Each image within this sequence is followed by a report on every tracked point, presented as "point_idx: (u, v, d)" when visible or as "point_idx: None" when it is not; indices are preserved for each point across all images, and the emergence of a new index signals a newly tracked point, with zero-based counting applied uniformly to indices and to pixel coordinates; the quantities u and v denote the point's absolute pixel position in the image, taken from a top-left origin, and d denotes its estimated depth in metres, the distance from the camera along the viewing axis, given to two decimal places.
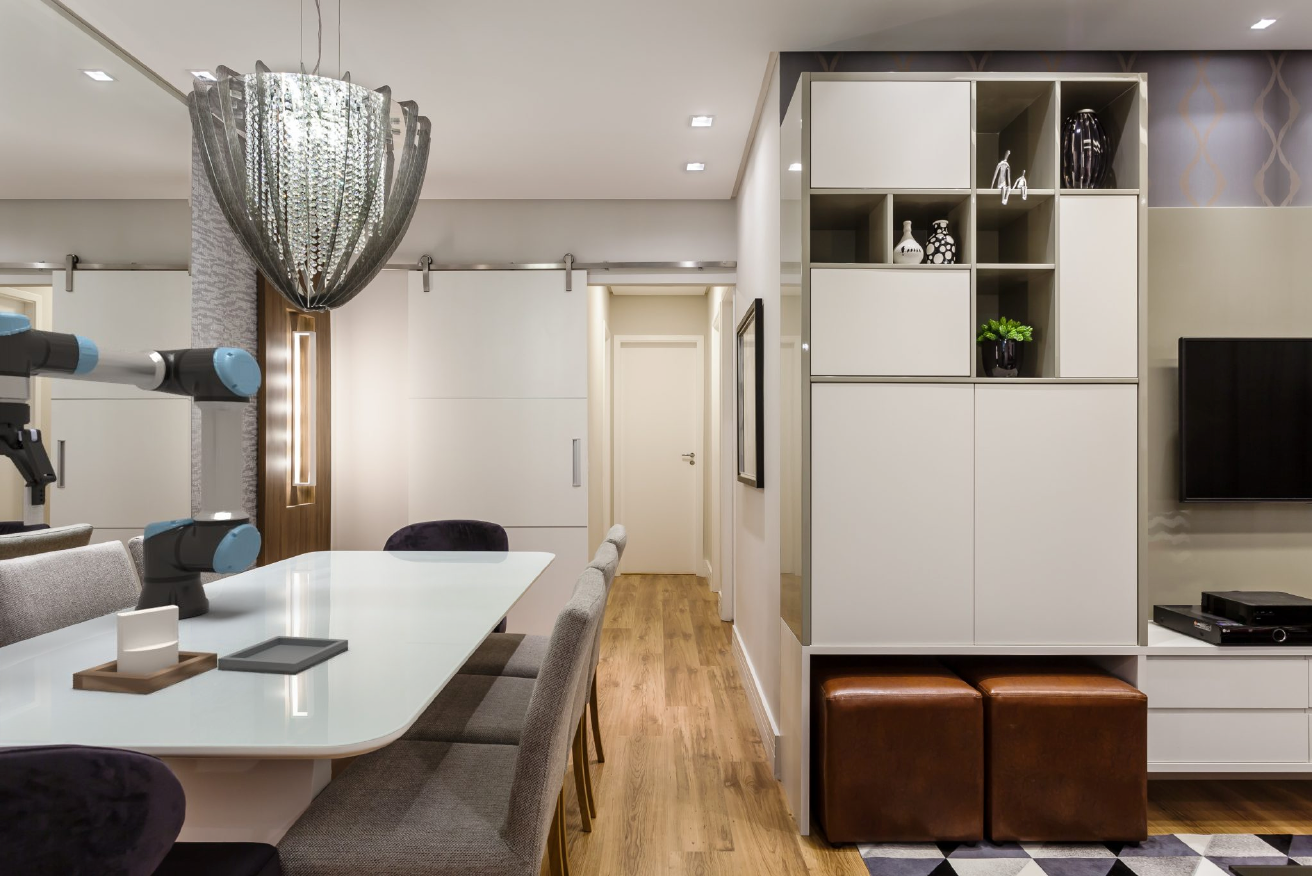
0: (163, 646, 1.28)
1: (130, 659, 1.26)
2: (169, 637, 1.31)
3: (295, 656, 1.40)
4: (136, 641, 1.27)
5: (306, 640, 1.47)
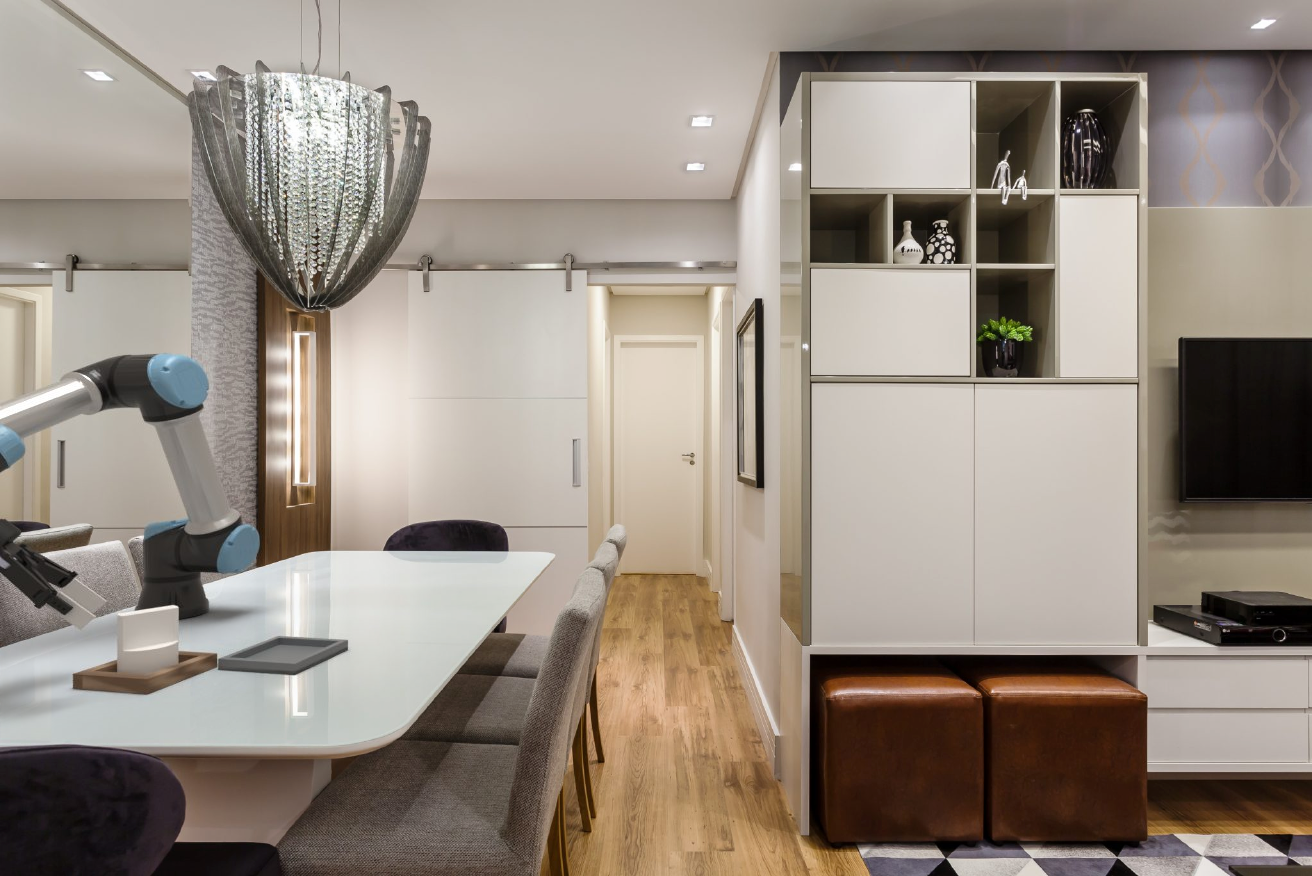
0: (163, 646, 1.28)
1: (130, 659, 1.26)
2: (169, 637, 1.31)
3: (295, 656, 1.40)
4: (136, 641, 1.27)
5: (306, 640, 1.47)
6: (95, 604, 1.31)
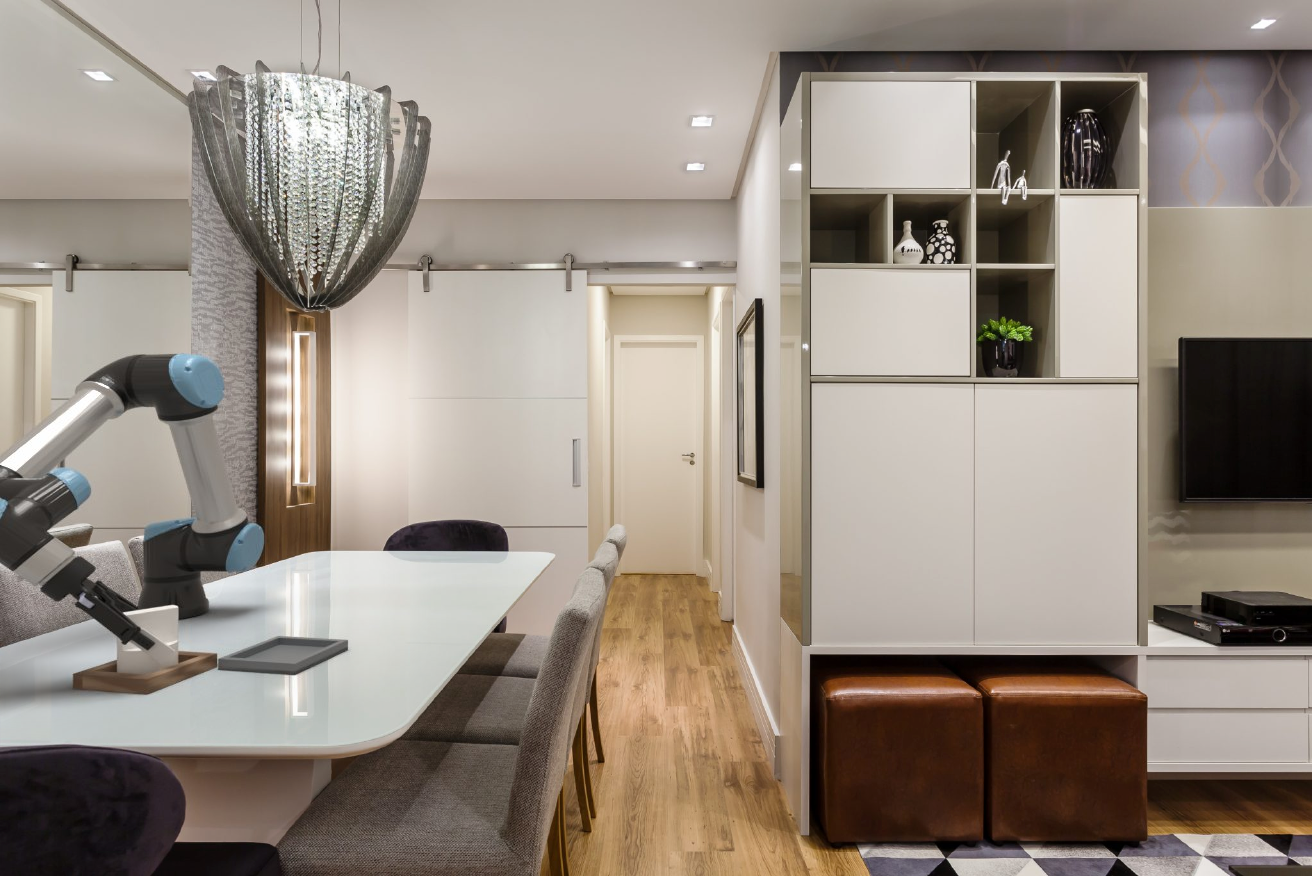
0: None
1: (129, 659, 1.26)
2: (168, 636, 1.31)
3: (295, 656, 1.40)
4: None
5: (306, 640, 1.47)
6: None
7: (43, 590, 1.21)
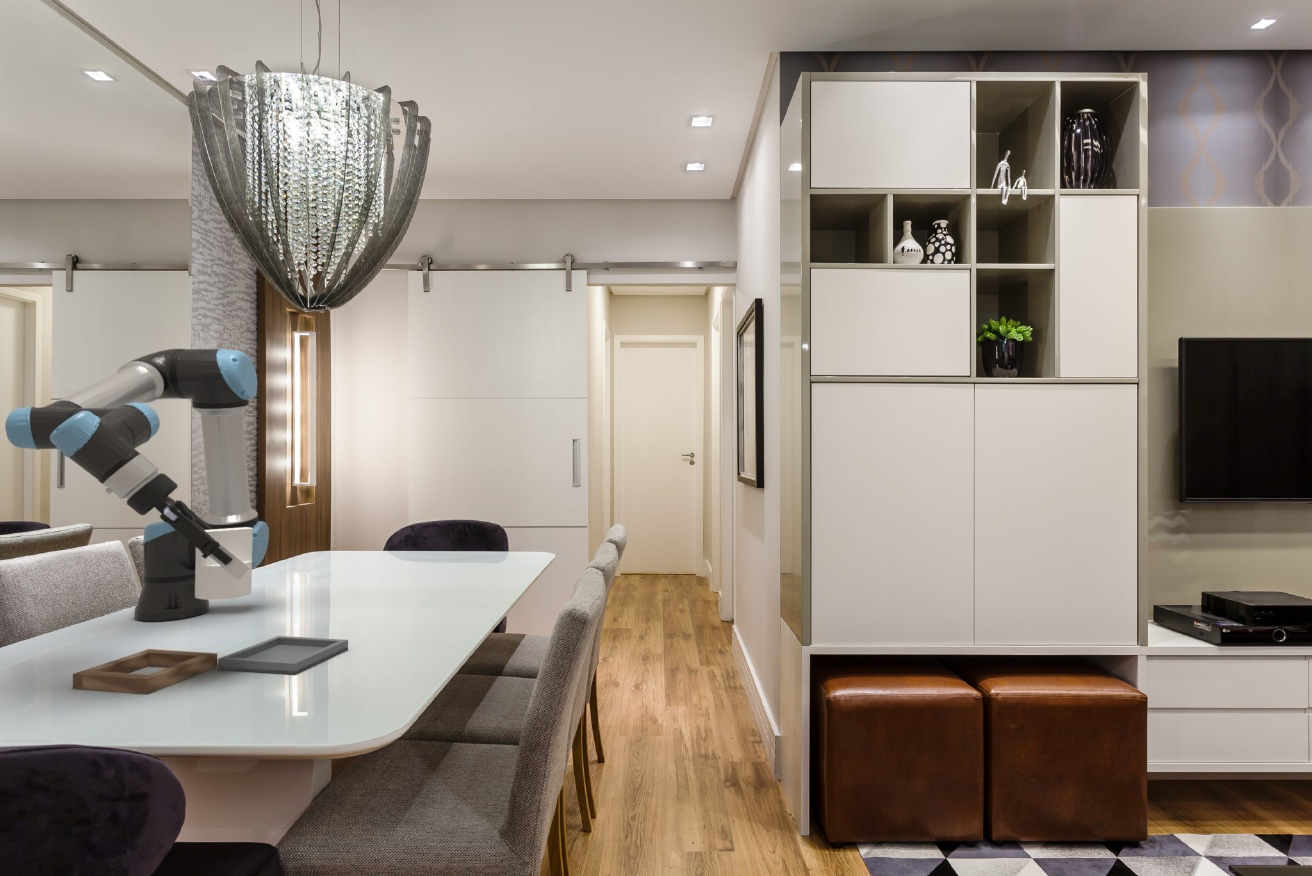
0: None
1: (208, 574, 1.30)
2: (243, 556, 1.35)
3: (295, 656, 1.40)
4: None
5: (306, 640, 1.47)
6: None
7: (130, 503, 1.25)
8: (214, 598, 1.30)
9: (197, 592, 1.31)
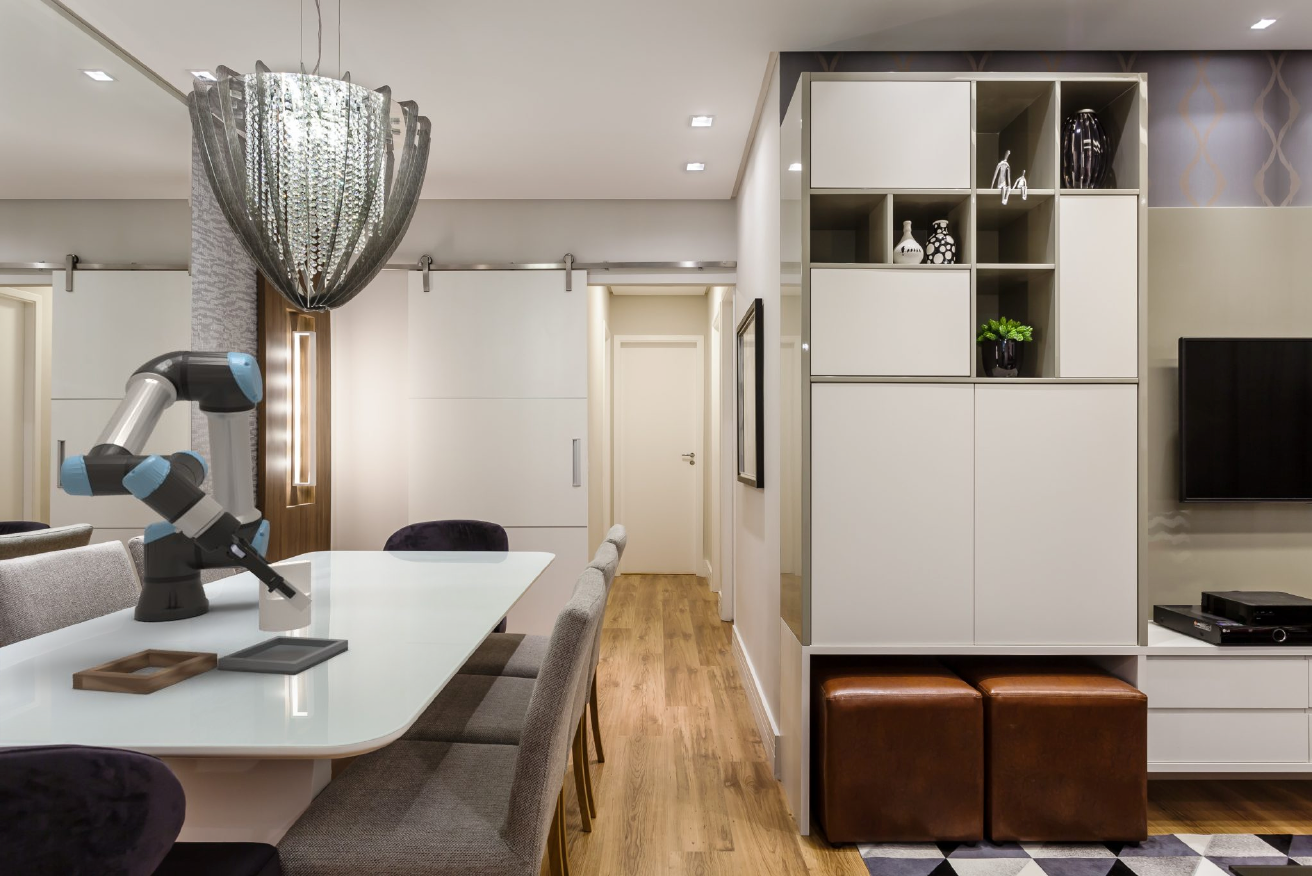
0: None
1: (272, 607, 1.36)
2: (303, 588, 1.41)
3: (295, 656, 1.40)
4: None
5: (306, 640, 1.47)
6: None
7: (198, 541, 1.31)
8: (279, 630, 1.36)
9: (262, 625, 1.36)
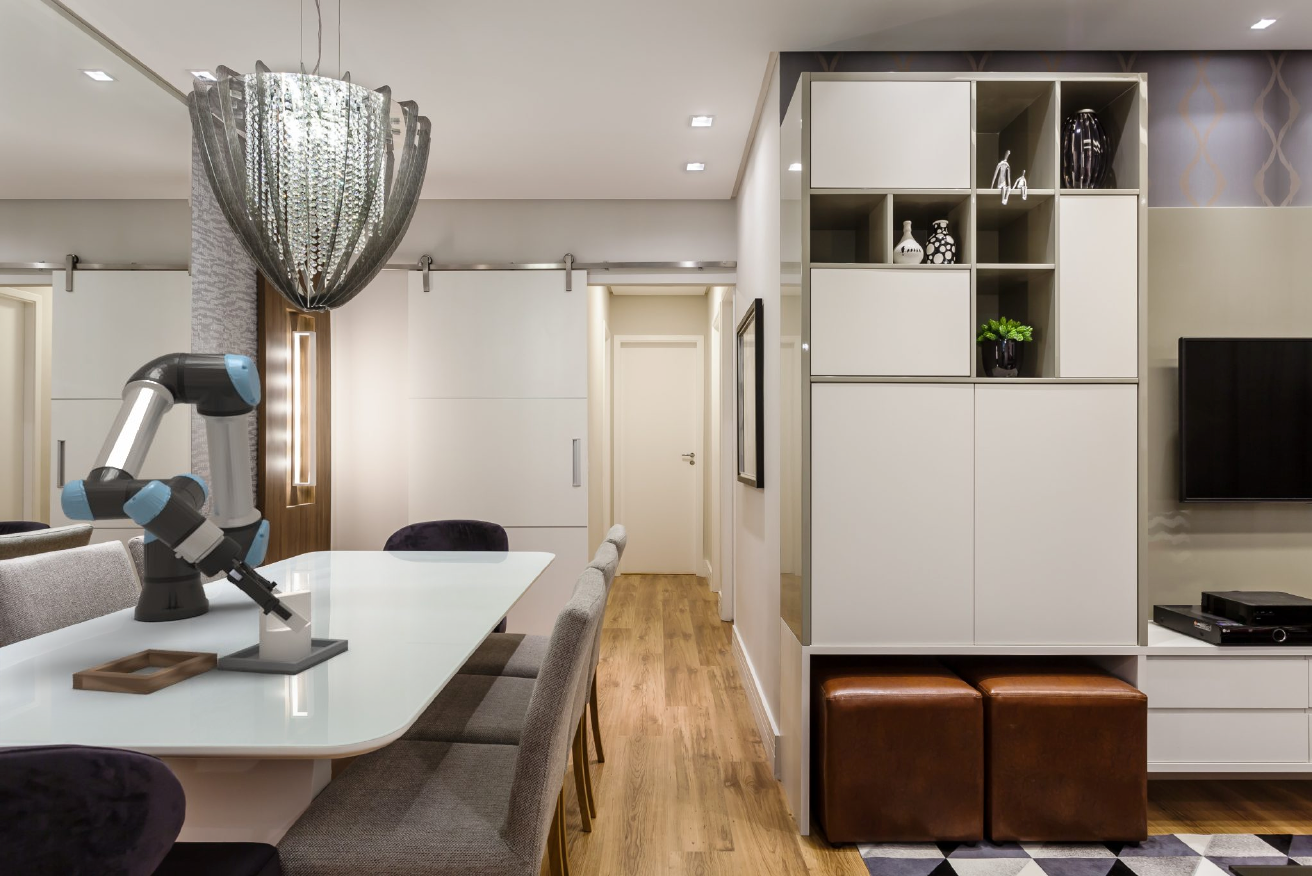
0: None
1: (273, 639, 1.36)
2: None
3: None
4: (277, 622, 1.38)
5: None
6: None
7: (199, 567, 1.31)
8: None
9: (262, 656, 1.37)
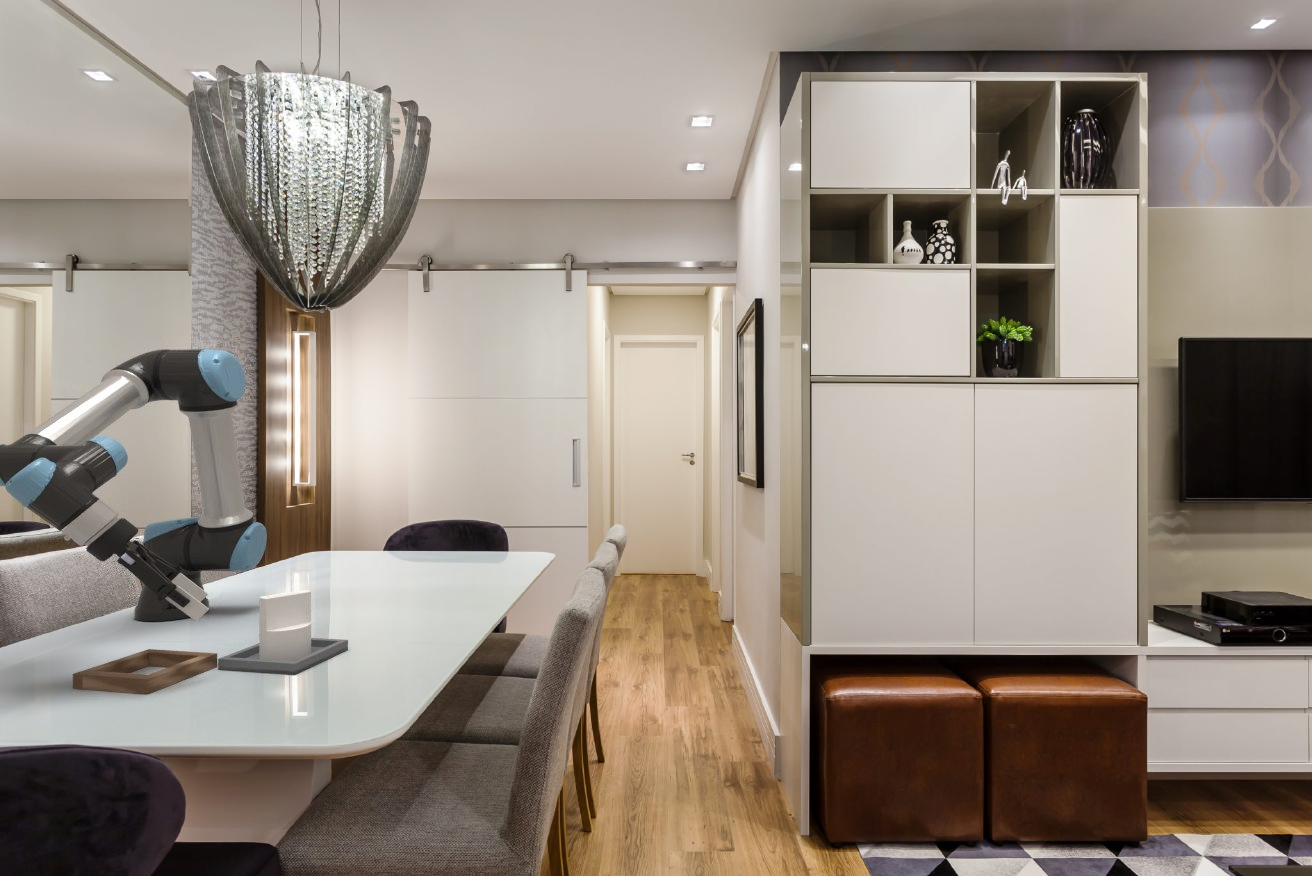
0: (300, 627, 1.39)
1: (273, 639, 1.36)
2: (303, 618, 1.42)
3: None
4: (277, 622, 1.38)
5: None
6: (198, 597, 1.40)
7: (89, 550, 1.25)
8: None
9: (262, 656, 1.37)
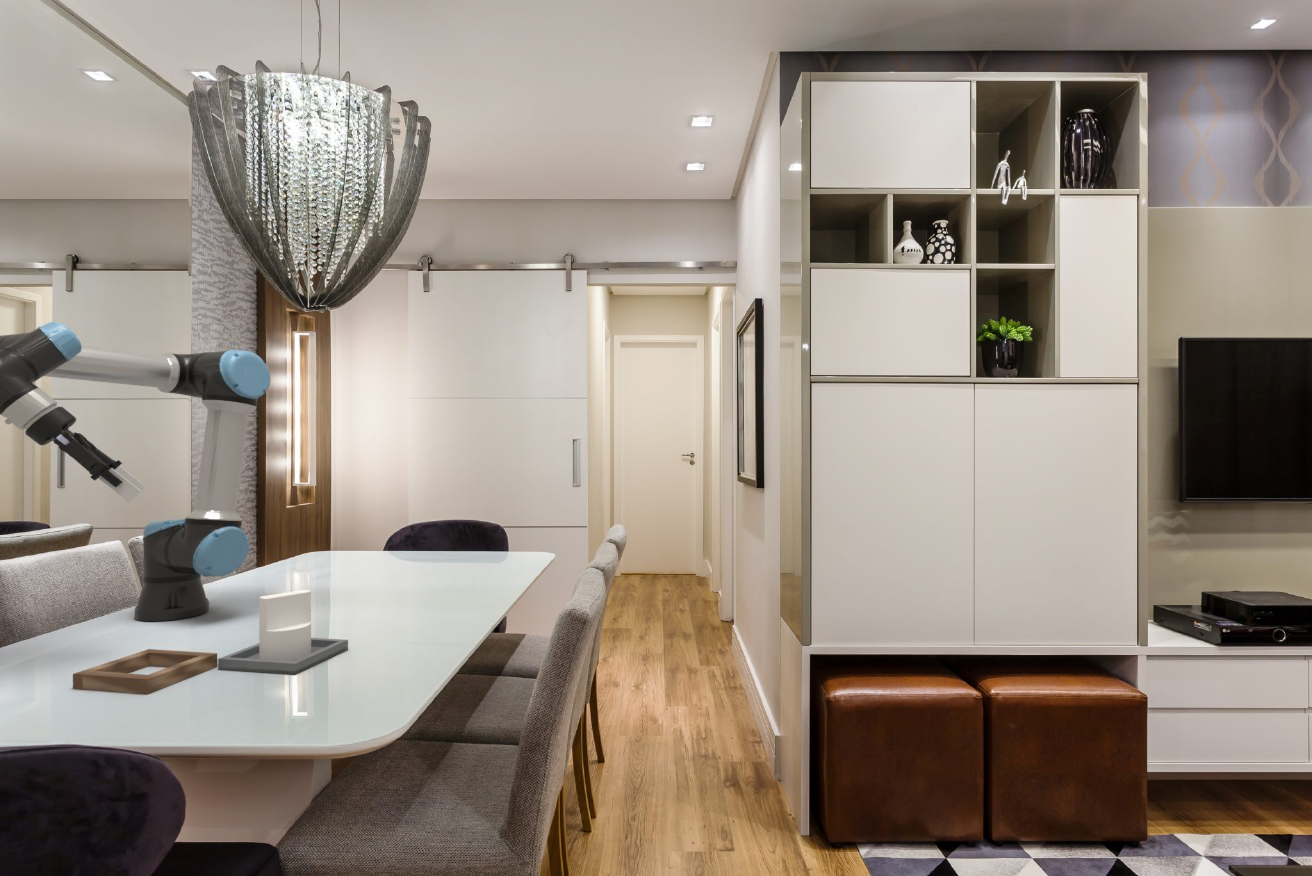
0: (300, 627, 1.39)
1: (273, 639, 1.36)
2: (303, 618, 1.42)
3: None
4: (277, 622, 1.38)
5: None
6: None
7: (28, 432, 1.35)
8: None
9: (262, 656, 1.37)
